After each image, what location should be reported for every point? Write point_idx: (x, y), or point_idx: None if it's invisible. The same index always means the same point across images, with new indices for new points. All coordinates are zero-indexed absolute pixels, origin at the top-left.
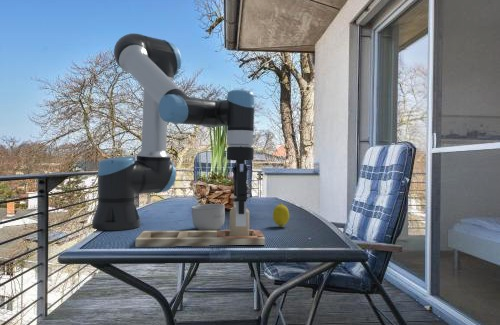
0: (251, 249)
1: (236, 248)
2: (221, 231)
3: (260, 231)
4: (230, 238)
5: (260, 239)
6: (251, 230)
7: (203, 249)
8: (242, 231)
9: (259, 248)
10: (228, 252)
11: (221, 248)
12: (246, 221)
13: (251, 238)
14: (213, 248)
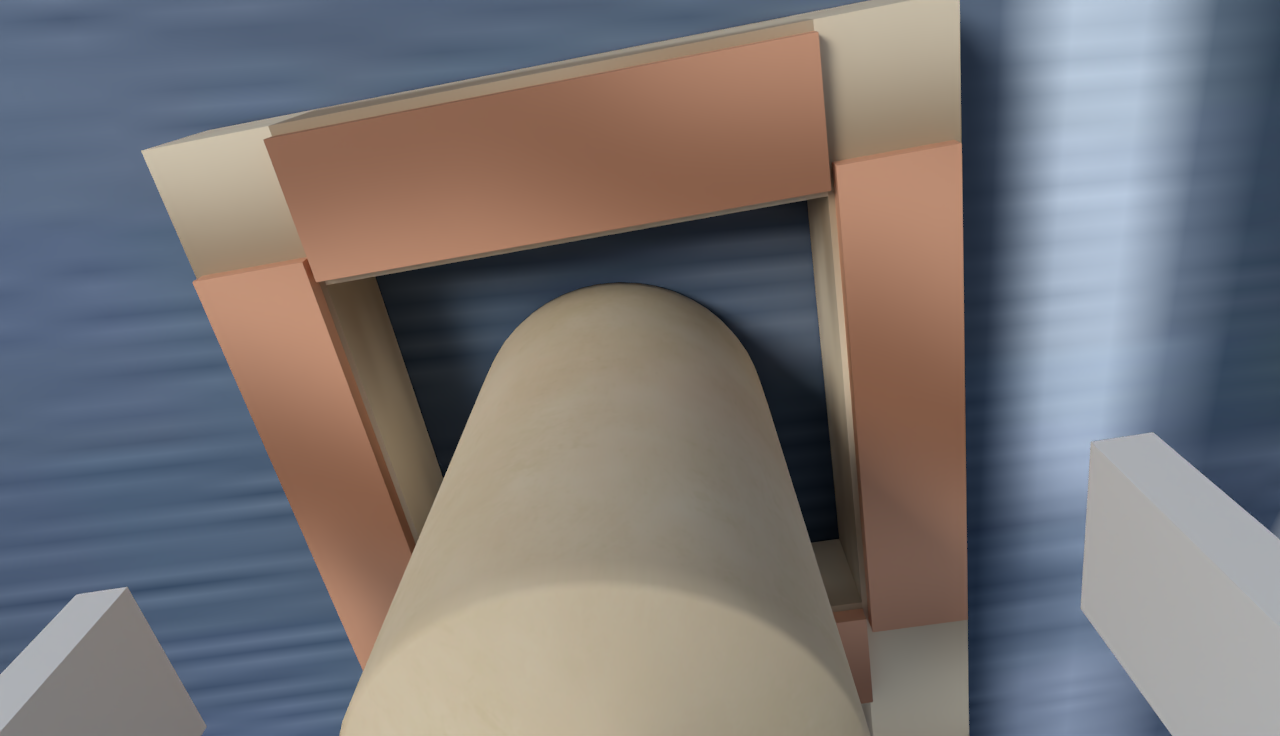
0: (1143, 192)
1: (1060, 392)
2: None
3: (355, 132)
4: (963, 537)
5: (953, 82)
6: (308, 309)
7: (1082, 697)
8: (778, 441)
9: (1087, 74)
10: (1275, 453)
11: (1046, 550)
12: (756, 480)
13: (955, 246)
14: (1040, 622)
